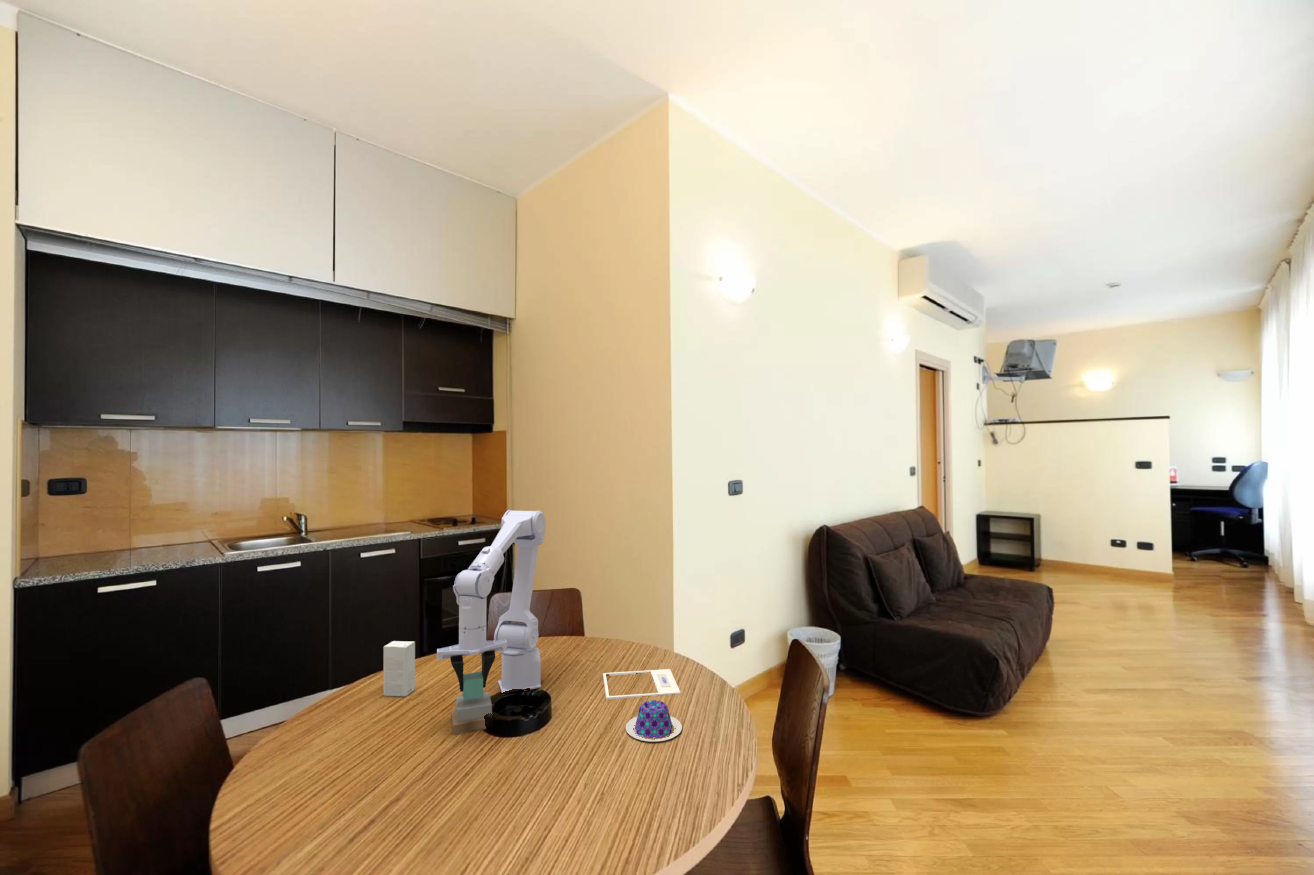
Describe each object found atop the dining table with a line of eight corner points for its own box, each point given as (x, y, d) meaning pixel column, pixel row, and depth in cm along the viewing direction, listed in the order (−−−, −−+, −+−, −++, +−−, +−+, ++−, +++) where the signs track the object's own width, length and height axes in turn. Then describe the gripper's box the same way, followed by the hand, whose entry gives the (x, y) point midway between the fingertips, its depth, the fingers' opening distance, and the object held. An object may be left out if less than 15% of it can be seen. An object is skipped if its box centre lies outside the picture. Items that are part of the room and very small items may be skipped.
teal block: (481, 689, 123) (481, 671, 123) (483, 696, 119) (483, 677, 119) (462, 692, 121) (462, 674, 121) (463, 699, 117) (463, 681, 117)
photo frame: (680, 691, 133) (606, 696, 131) (680, 696, 133) (606, 701, 131) (669, 668, 148) (603, 672, 145) (669, 672, 148) (603, 676, 145)
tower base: (488, 713, 125) (488, 702, 125) (493, 729, 118) (493, 717, 118) (451, 720, 122) (451, 709, 122) (453, 737, 114) (453, 725, 114)
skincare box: (415, 689, 137) (415, 641, 137) (406, 697, 132) (406, 647, 133) (392, 688, 137) (392, 640, 138) (382, 696, 133) (382, 646, 133)
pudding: (615, 725, 119) (615, 701, 119) (662, 711, 125) (662, 688, 125) (644, 751, 108) (644, 724, 109) (693, 734, 115) (693, 709, 115)
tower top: (489, 702, 125) (489, 691, 125) (491, 716, 118) (491, 704, 118) (456, 707, 122) (456, 696, 122) (457, 722, 116) (457, 710, 116)
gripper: (438, 635, 114) (437, 701, 113) (509, 626, 120) (509, 689, 119) (436, 625, 120) (436, 688, 120) (504, 617, 126) (504, 676, 126)
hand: (472, 687), depth 120 cm, fingers closed on teal block, 4 cm apart
